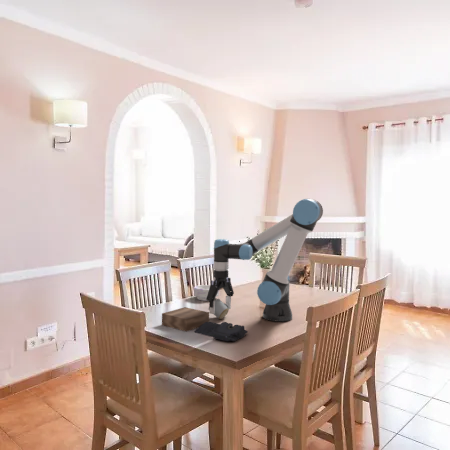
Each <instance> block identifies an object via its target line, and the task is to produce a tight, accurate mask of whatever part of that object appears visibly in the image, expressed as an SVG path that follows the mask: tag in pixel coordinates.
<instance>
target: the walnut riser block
mask: <svg viewBox="0 0 450 450" xmlns="http://www.w3.org/2000/svg"><path fill="white" fill-rule="evenodd" d="M205 322H210V311H205V310H199V309H196V308H195V309H194V308H191V307H186V306H185V307H180V308H177V309H173V310H169V311H166V312H162V313H161V326H164V327H168V328H172V329H175V330H179V331H184V332H190V331H192V330H194V329H195V330H196V329H197V328H199V327H200V326H201V325H202V324H204V323H205Z"/></svg>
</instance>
